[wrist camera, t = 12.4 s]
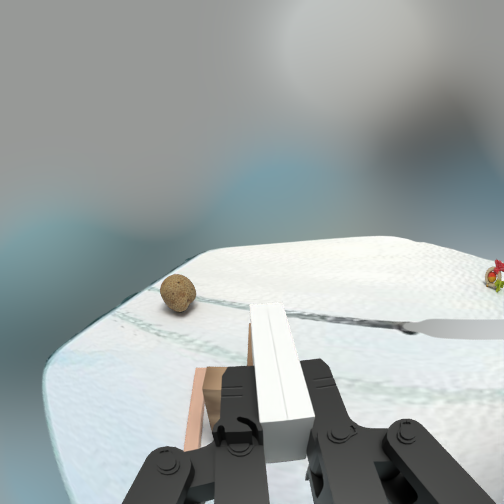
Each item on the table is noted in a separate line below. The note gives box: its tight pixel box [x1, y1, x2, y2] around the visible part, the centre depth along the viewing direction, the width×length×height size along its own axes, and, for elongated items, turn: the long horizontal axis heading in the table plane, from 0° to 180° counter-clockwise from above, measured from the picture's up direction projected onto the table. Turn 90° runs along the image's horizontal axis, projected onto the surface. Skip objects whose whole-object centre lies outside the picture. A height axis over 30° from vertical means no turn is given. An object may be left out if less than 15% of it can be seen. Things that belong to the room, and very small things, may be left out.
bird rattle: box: [485, 260, 504, 292], centre depth 67 cm, size 6×11×9 cm
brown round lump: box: [160, 274, 196, 312], centre depth 69 cm, size 9×9×10 cm
